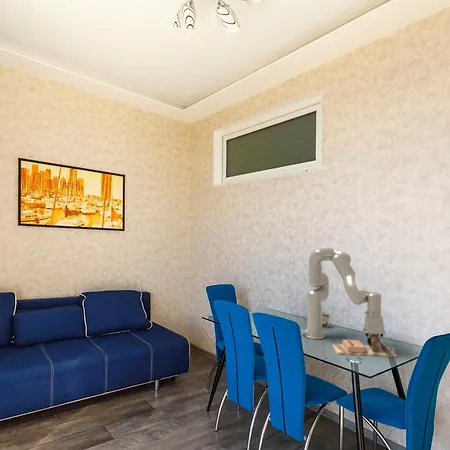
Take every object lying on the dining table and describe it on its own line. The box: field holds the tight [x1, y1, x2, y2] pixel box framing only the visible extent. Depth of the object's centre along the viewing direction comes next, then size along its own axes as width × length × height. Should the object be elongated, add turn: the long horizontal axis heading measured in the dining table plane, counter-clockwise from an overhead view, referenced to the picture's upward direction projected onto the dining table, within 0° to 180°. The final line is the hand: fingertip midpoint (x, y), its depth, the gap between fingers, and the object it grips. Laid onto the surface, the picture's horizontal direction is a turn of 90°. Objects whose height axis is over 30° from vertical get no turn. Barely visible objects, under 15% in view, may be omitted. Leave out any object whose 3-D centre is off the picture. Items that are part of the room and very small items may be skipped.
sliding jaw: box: [342, 338, 365, 353], centre depth 205 cm, size 10×12×4 cm
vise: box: [331, 341, 398, 358], centre depth 204 cm, size 33×14×4 cm, turn 85°
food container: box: [322, 311, 330, 329], centre depth 253 cm, size 12×6×10 cm, turn 84°
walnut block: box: [367, 334, 381, 350], centre depth 204 cm, size 4×8×7 cm, turn 175°
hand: (373, 344), depth 204 cm, fingers closed on walnut block, 4 cm apart
